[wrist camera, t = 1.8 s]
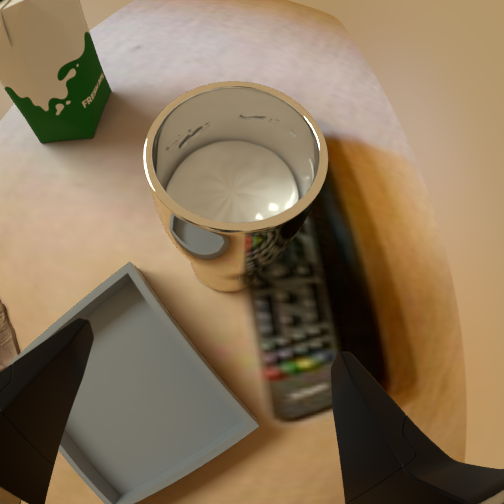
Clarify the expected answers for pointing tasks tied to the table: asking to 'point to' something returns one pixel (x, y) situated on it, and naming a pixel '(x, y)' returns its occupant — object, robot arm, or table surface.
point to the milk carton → (52, 68)
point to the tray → (143, 396)
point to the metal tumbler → (233, 177)
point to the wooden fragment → (7, 340)
